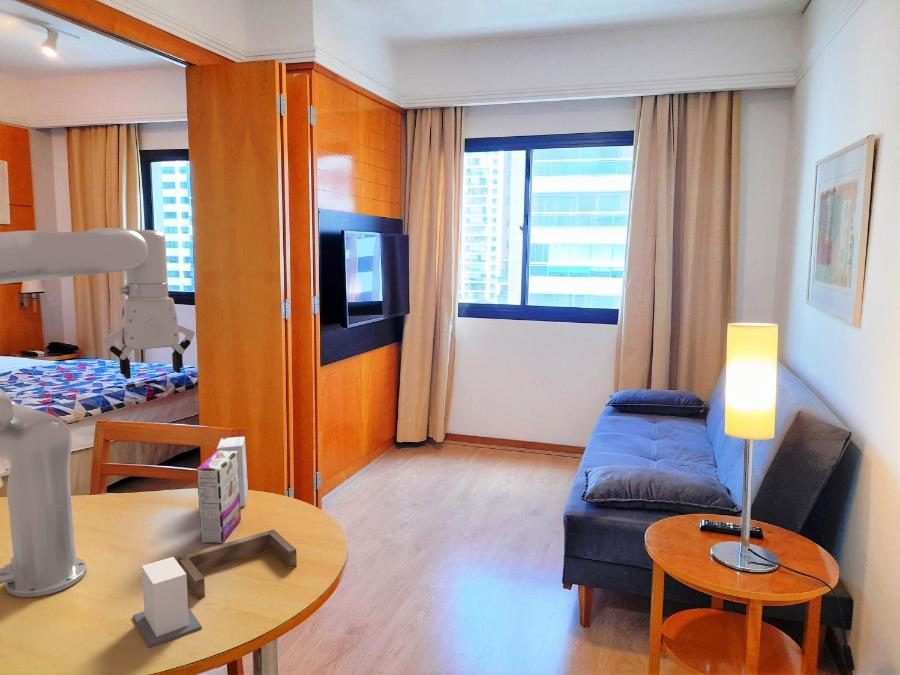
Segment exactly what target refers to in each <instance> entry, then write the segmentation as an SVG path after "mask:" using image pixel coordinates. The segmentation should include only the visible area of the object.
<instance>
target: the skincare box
mask: <svg viewBox="0 0 900 675" xmlns="http://www.w3.org/2000/svg"><path fill="white" fill-rule="evenodd" d="M217 444H218V445H217V447H216V451H219V450H223V451H238V472H239V491H240V508H244V507H246V505H247V504H246V502H247V498H248V496H249V488H248V487H249V486H248V483H249V482H248V471H247V470H248V469H247V455H246V437H245V436H233V437H224V438H220V440H219V442H217ZM247 491H248V492H247Z"/></svg>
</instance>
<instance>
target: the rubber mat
mask: <svg viewBox="0 0 900 675" xmlns="http://www.w3.org/2000/svg"><path fill="white" fill-rule="evenodd" d="M188 615H189V625H188V626H185V627H182V628H180V629H177V630H174V631H171V632H168V633H166V634H163V635H160V636H157V637H156V635H155V633H154V632H153V630H152V628H151V626H150V624H149V623H148V621H147V619H146V617H145V613H144V611H141V612H137V613H135V614H132V618H133V620H134V621H135V623H136V625H137V627H138V629H139V630H140V633H141V635H142V637H143V638H144V640H145V642H146V644H147V646H148V648H151V647H154V646H157V645H160V644H162V643H166V642H168V641H171V640H173V639H177V638H179V637H182V636H185V635H188V634H190V633H193V632H196V631H199V630H202V629H203V628H202V625H201V623H200V621H199V620H198V619H197V617H196V616H195V614H194V613H193V612H192V610H191V609H190V607H189V606H188Z"/></svg>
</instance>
